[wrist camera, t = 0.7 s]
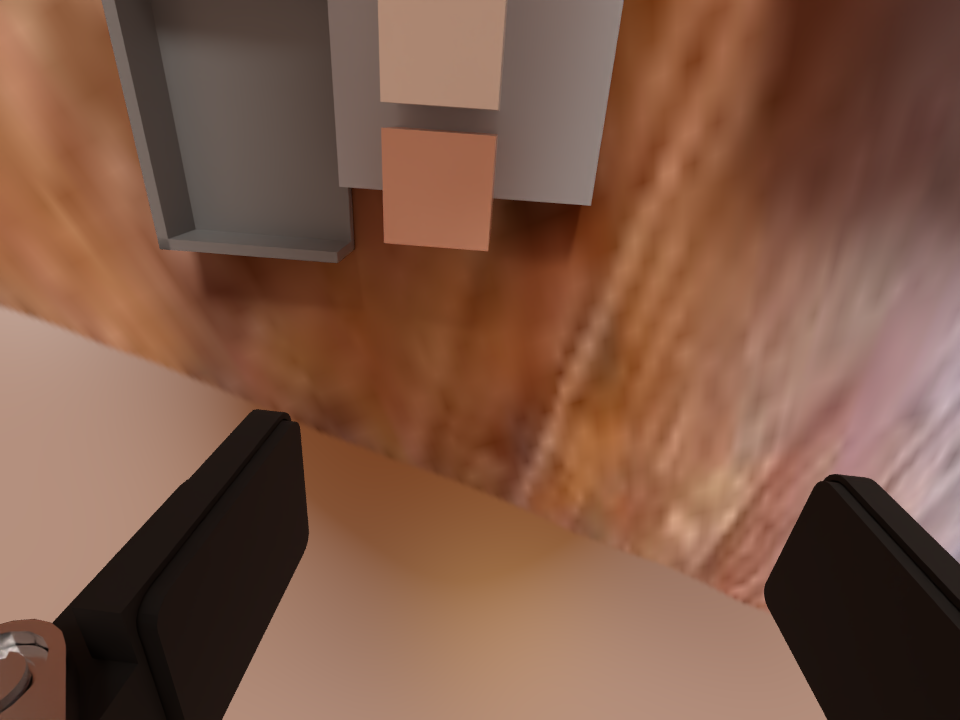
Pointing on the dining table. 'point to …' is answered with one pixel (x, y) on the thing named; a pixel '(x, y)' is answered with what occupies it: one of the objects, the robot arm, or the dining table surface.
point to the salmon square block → (438, 187)
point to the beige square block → (442, 52)
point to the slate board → (523, 105)
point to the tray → (235, 124)
